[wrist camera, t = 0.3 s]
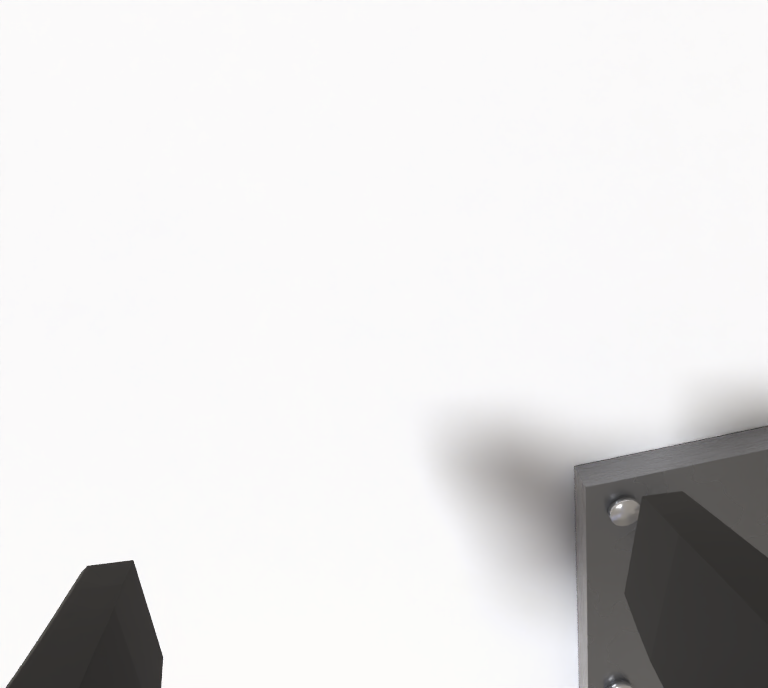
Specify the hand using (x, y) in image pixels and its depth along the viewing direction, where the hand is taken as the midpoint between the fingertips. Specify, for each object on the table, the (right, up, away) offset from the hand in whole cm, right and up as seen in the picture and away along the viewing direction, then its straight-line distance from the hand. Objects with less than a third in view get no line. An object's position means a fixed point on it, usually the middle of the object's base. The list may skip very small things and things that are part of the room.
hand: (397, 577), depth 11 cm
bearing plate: (+11, -5, +16) cm, 20 cm away
